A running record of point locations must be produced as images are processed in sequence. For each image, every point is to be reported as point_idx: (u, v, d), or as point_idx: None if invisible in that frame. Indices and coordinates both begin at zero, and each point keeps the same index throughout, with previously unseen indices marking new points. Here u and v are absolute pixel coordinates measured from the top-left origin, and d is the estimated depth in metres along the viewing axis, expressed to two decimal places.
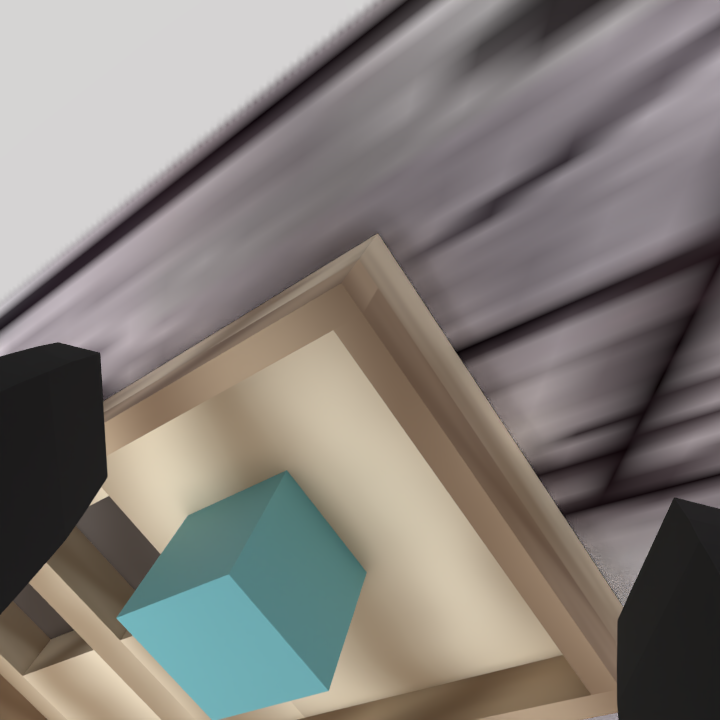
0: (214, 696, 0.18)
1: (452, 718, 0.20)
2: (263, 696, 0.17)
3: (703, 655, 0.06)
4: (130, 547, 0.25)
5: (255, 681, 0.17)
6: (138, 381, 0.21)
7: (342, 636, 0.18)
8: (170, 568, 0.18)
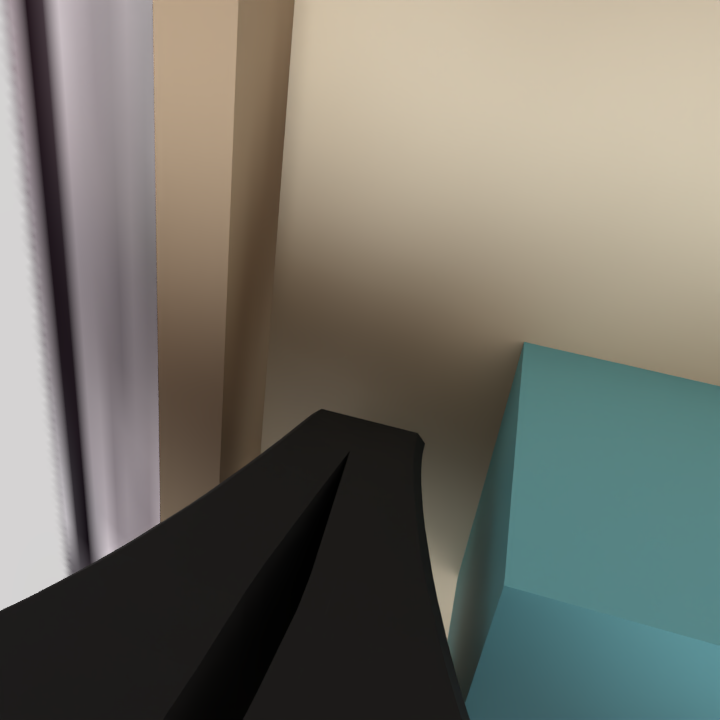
0: None
1: None
2: None
3: None
4: None
5: None
6: None
7: None
8: None
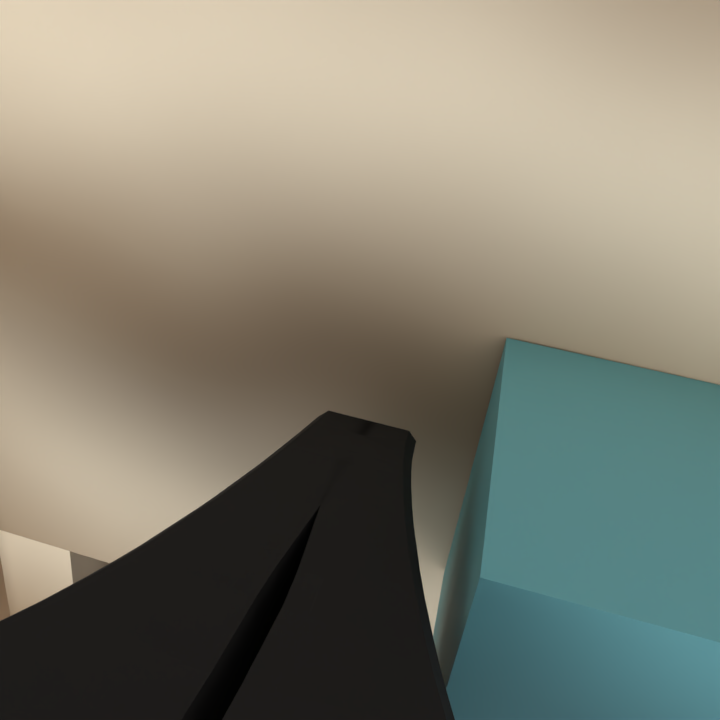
0: None
1: None
2: None
3: None
4: None
5: None
6: None
7: None
8: None
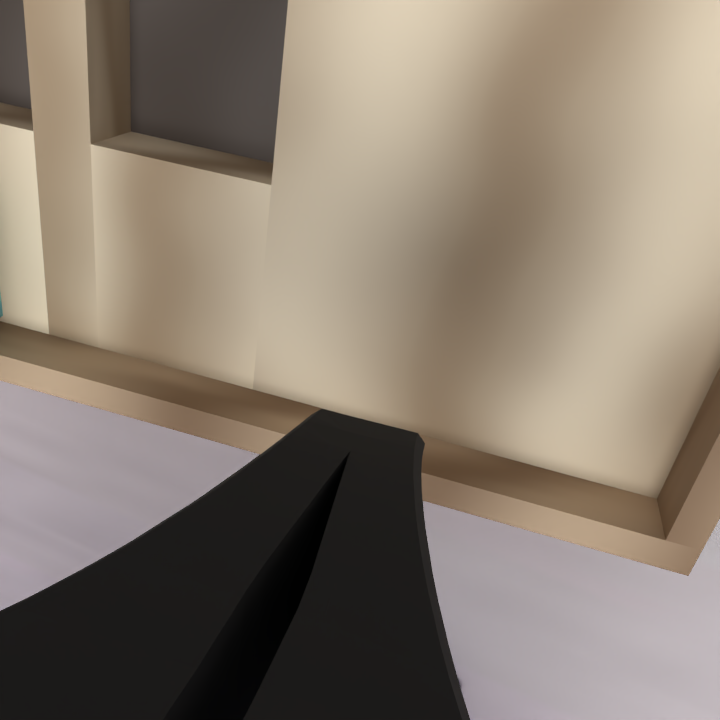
0: None
1: (478, 483, 0.16)
2: None
3: None
4: (184, 44, 0.16)
5: None
6: None
7: None
8: None
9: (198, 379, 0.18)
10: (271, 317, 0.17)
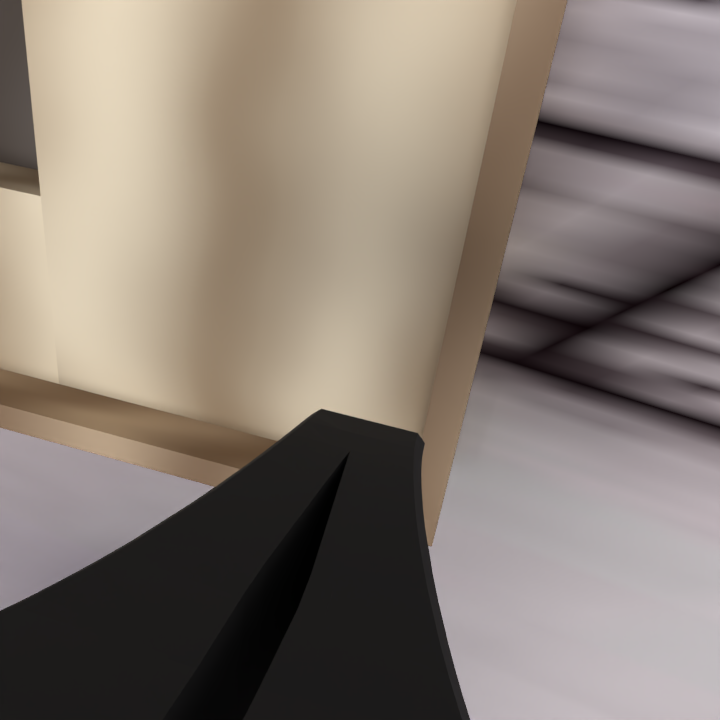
0: None
1: (244, 465, 0.18)
2: None
3: None
4: None
5: None
6: None
7: None
8: None
9: (8, 375, 0.20)
10: (62, 317, 0.19)
